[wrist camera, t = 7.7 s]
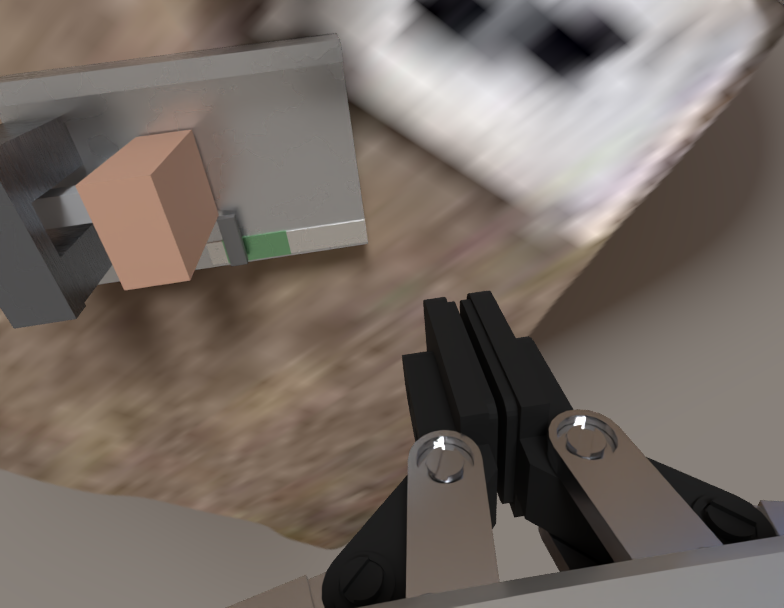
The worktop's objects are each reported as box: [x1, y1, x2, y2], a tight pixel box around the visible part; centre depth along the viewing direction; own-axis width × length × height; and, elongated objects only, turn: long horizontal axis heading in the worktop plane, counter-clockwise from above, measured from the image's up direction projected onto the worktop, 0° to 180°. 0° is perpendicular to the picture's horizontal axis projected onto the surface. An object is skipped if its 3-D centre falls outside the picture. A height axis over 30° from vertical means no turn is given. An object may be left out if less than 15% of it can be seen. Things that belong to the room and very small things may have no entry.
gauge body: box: [0, 33, 368, 328], centre depth 26 cm, size 18×12×10 cm, turn 96°
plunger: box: [31, 129, 249, 290], centre depth 25 cm, size 15×8×8 cm, turn 96°
